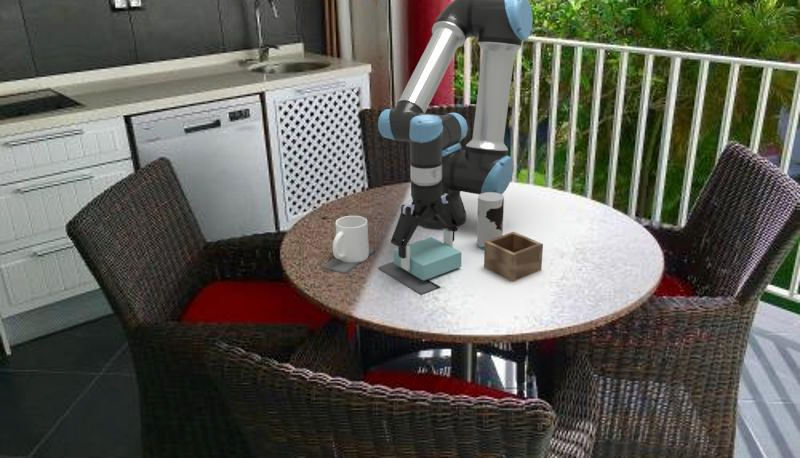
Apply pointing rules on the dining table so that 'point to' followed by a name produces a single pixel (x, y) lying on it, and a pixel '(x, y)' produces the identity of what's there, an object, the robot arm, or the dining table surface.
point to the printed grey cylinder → (489, 217)
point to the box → (513, 256)
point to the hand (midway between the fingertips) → (427, 261)
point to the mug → (351, 239)
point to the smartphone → (342, 264)
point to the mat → (408, 278)
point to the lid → (430, 258)
